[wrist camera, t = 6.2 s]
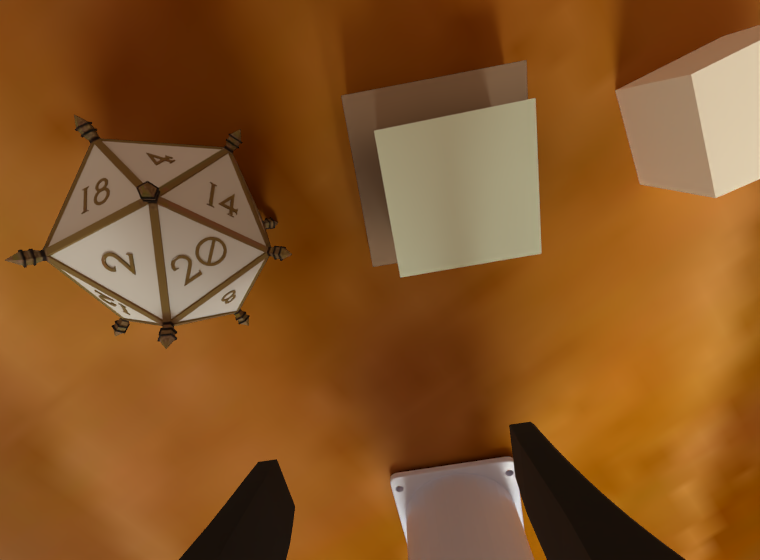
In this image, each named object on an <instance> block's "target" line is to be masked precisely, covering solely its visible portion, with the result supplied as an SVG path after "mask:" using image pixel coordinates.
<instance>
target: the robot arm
mask: <svg viewBox="0 0 760 560" xmlns="http://www.w3.org/2000/svg"><path fill="white" fill-rule="evenodd" d="M509 427H510V436H511V445H512V453H513V458H512V457H500V458H493V459H486V460H480V461H473V462H466V463H459V464H453V465H446V466H439V467H432V468H426V469H419V470H412V471H406V472H399V473H394V474H393V475H391V477H390V484H391V488H392V491H393V495H394V498H395V502H396V506H397V509H398V513H399V517H400V520H401V524H402V527H403V531H404V535H405V538H406V542H407V545H408V560H534V558H533V555H532V552H531V549H530V546H529V543H528V540H527V537H526V535H525V532H524V524H523V516H522V507H521V499H520V494H521V497H522V500H523V503H524V506H525V509H526V512H527V514H528V517H529V519H530V521H531V524H532V526H533V528H534V531H535V533H536V535H537V538H538V540H539V542H540V545H541V547H542V549H543V551H544V554H545V556H546V558H547V560H685V559H684V558H683V557H681V556H680V555H679V554H677V553H676V552H675V551H673V550H672V549H670V548H669V547H668V546H666V545H665V544H664V543H662V542H661V541H660V540H658V539H657V538H656V537H654V536H653V535H652V534H651V533H649V532H648V531H647V530H645V529H644V528H643V527H642V526H640V525H639V524H638V523H637V522H635V521H634V520H633V519H632V518H630V517H629V516H628V515H627V514H626V513H625V512H623V511H622V510H621V509H620V508H619V507H617V506H616V505H615V504H614V503H613V502H612V501H611V500H609V499H608V498H607V497H606V496H605V495H604V494H602V493H601V492H600V491H599V490H598V489H597V488H596V487H595V486H594V485H593V484H592V483H590V482H589V481H588V480H587V479H586V478H585V477H584V476H583V475H582V474H581V473H580V472H579V471H578V470H577V469H576V468H575V467H574V466H573V465H572V464H571V463H570V462H569V461H568V460H567V459H566V458H565V457H564V456H563V455H562V454H561V453H560V452H559V451H558V450H557V449H556V448H555V447H554V446H553V445H552V444H551V443H550V442H549V441H548V439H547V438H546V437H545V436H544V435H543V434H542V433H541V432H540V431H539V429H538V428H537V427H536V426H535V425H534V424H533V423H531V422H525V423H519V424H512V425H509ZM507 470H509V471H507ZM398 486H401V487H398ZM294 511H295V505H294V503H293V500H292V497H291V495H290V492H289V490H288V487H287V484H286V482H285V479H284V477H283V474H282V472H281V469H280V466H279V464H278V461H277V459H276V460H269V461H262V462H258V463H257V464H256V466H255V467H254V468H253V469H252V471H251V472H250V473H249V474H248V476H247V477H246V478H245V479H244V481H243V482H242V483H241V485H240V486H239V487H238V488H237V490H236V491H235V492H234V494H233V495H232V496H231V497H230V499H229V500H228V501H227V503H226V504H225V505H224V506H223V508H222V509H221V510H220V511H219V513H218V514H217V515H216V516H215V518H214V519H213V520H212V521H211V523H210V524H209V525H208V526H207V528H206V529H205V530H204V531H203V532H202V533H201V535H200V536H199V537H198V538H197V539H196V540H195V542H194V543H193V544H192V545H191V546H190V547H189V549H188V550H187V551H186V552H185V553H184V554H183V556H182V557H181V558H180V559H179V560H286V557H287V553H288V549H289V545H290V540H291V533H292V527H293V519H294Z"/></svg>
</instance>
